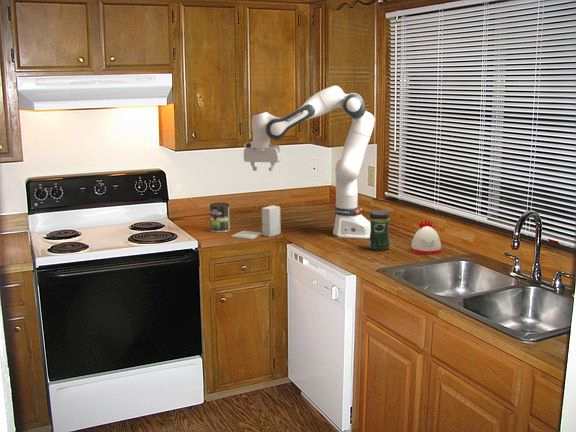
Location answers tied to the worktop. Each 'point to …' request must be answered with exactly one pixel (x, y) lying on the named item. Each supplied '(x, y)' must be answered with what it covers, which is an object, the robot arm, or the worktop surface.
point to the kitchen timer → (426, 240)
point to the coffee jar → (379, 230)
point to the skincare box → (271, 221)
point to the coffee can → (219, 217)
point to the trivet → (247, 234)
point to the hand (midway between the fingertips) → (262, 170)
